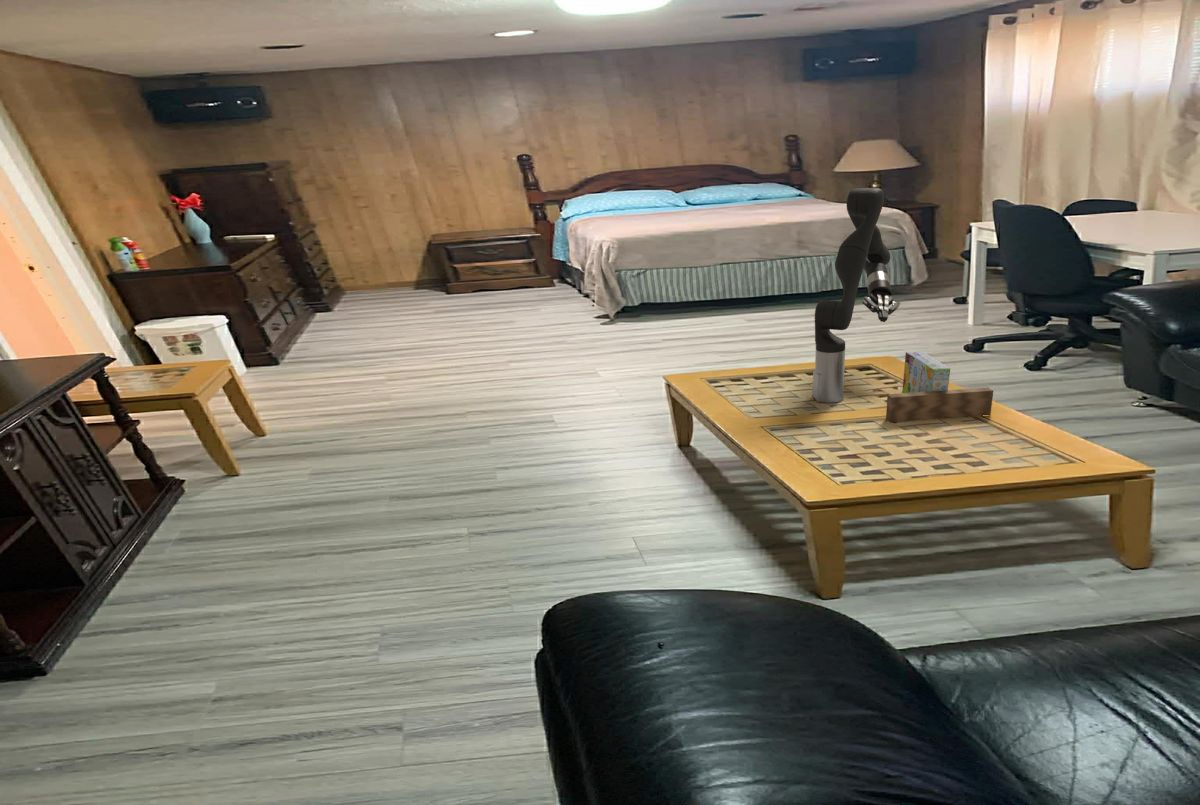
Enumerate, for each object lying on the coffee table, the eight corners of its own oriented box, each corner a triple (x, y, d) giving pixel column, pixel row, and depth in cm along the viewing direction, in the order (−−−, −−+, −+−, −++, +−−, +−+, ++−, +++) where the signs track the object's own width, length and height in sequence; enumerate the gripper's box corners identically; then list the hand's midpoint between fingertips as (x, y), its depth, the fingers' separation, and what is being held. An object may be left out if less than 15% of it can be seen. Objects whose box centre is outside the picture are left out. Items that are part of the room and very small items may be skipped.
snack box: (947, 415, 209) (951, 368, 204) (928, 416, 209) (932, 369, 204) (917, 393, 229) (921, 349, 224) (900, 394, 229) (903, 350, 224)
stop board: (889, 422, 207) (891, 397, 204) (885, 418, 210) (887, 394, 207) (990, 415, 206) (993, 390, 203) (985, 412, 209) (988, 387, 206)
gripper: (864, 275, 242) (868, 309, 231) (901, 281, 241) (907, 315, 230) (856, 291, 247) (860, 325, 236) (893, 297, 247) (898, 330, 236)
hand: (883, 320), depth 233 cm, fingers closed
